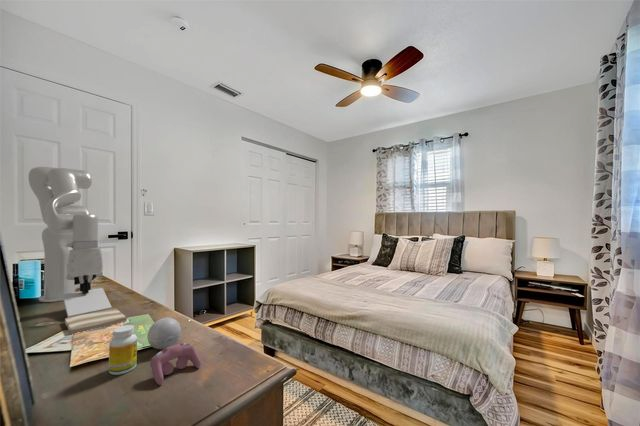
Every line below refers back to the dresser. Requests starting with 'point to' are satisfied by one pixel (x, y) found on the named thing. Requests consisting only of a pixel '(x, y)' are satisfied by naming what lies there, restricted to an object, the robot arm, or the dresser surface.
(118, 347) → the supplement bottle
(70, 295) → the grey plank
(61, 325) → the dresser surface
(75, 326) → the birch board
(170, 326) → the bath bomb
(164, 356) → the video game controller
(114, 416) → the dresser surface
